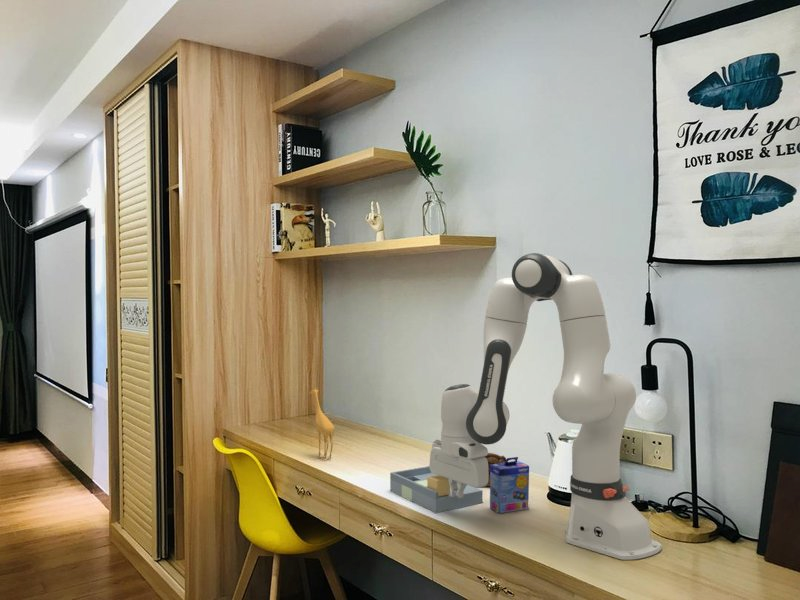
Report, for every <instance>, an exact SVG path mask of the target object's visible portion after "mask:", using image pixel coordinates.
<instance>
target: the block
mask: <svg viewBox="0 0 800 600" xmlns="http://www.w3.org/2000/svg"><path fill="white" fill-rule="evenodd" d="M427 487H428V488H430V489H432V490H435V491H437V492H438V497H439V496H444V495H449V494H450V485H449V482H448V478H446V477H443V476H440V475H436V476H430V477H427Z"/></svg>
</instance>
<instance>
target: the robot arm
mask: <svg viewBox="0 0 800 600" xmlns="http://www.w3.org/2000/svg"><path fill="white" fill-rule="evenodd" d="M488 298H489V299H488V301H487V307H486V309H485V310H486V311H485V316H484V323H483V365H482V366H483V367H482V373H481V378H480V379H481V380H480V384H479V385H480V386H479V388H478V389H479V390H477V389H475V388H474V387H473V386H472V385H470V384H467V383H464V384H463V383H460V384H456V385H451V386H449V387H447V388H446V389H445V390H444V391H443V393H442V396H441V404H440V405H441V406H440V418H441V425H442V426H441V431H440V439H435V440H434V441H433V442H432V445H431V451H430V454H429V465H428V466H429V468H430V471H431V472H432V473H434V474H437V475H440V476H443V477H446V478H448V482H449V485H450V487H451V489H452V496H455V497H458V498H462V497H463V496H464V490H465V488H466V486H467V485H469V486H472V487H475V488H477V489H480V488H483V487H487V486H486V485H487V483H488V478H489V472H488V461H487V459H486V458H485V457H484V456H487V455H488V453H489V450H488V447H486V446H485V445H488V446H489V445H494V444H496V443H498V442H499V441H501V440H502V439H503V437H504V436H505V434H506V430H507V426H508V422H509V420H510V410H509V408H508V406H507V404H506V403H505V402H504V398H505V397H504V396H505V392H506V391H505V390H506V386H507V379H508V376H509V375H508V374H509V370H510V368H511V365H512V363H513V361H514V359H515V358H516V355H517V353H518V352H519V351H520V348H521V347H522V344H523V341H524V339H525V335H526V331H527V327H528V320H529V313H530V310H531V309H530V308H531V306H532V305H533V303H535V302H542V301H543V302H545V301H551V300H552V301H553V302H554V304H555V305H556V309H557V311H558V312H557V313H558V319H559V326H560V331H561V333H560V334H561V339H562V340H561V342H562V348H563V364H562V370H561V375H560V380H559V383H558V385H557V386H556V388H555V389H554V391H553V394H552V407H553V409H554V412H555V414H556V415H557V416H558V418H560V419H561V420H563V421H564V422H566V423H571V424H578V425H579V424H580V425H581V427H580V430H579V432H578V434H577V435H576V437H575V439H574V440H573V442H572V446H571V469H572V470H571V471H572V474H571V475H570V481H569V487H570V488H569V489H570V491H571V499H570V507H569V508H570V509H569V514H568V515H569V516H568V522H567V526H566V530H565V535H566V537H565V542H566V543H568V544H570V545H574V546H577V547H580V548H583V549H586V550H590V551H593V552H596V553H600V554H602V555H606V556H608V557H611V558H612V557H613V558H615V559H618V560H622V561H623V560H624V561H626V560H627V561H628V560H629V561H630V560H639V559H644V558H648V557H651V556H654V555H655V554H658V553H659V552H660V551H662V548H663V547H662V543H661V542H659V541H657V540H655V539H653V538H652V537H651V529H650V524H649V520H647V518H646V517H645V516H644V515H643V514H642V513H641V512H640V511H639V509H637V507H635V505H633V503H632V502H631V501H630V500H629V499H628V497H626V496H627V493H626V492H627V491H630V489H629V488H630V485H625V486H624V484H623V481H622V478H620V466H621V465H620V460H621V459H620V458H621V457H620V456H621V455H620V453H621V452H620V451H621V443H622V438H623V433H624V430H625V426H626V423H627V419H628V416H629V413H630V412H631V410H632V409H633V407H634V405H635V403H636V400H637V392H636V391H637V390H636V388H635V386H634V383H633V382H632V381H631V380H630V379H629V378H627V377H626V376H625V375H621V374H616V373H610V372H605V373H604V369H605V361H606V357H607V355H608V354H609V352H610V349H611V342H610V341H611V340H610V335H609V328H608V323H607V316H606V311H605V307H604V302H603V298H602V296H601V292H600V290H599V287H598V285H597V282H596V280H595V279H594V278H593V277H592V276H589V275H586V274H582V273H581V274H573V272H572V270H571V268H570V267H569V265H568V264H567V263H565V262H564V261H562V260H561V259H558V258H555V256H551V255H548V254H542V253H539V252H537V253H536V252H533V253H528V254H527V253H526V254H524V255H522V256H521V257H520V258H518V259H517V260H516V261H515V263H514V264H513V266H512V269H511V277H503V278H500V279H498V280H497V281H496V282H494V284H493V287H492V289H491V292H490V295H489V297H488ZM456 482H458V485H459V487H458V486H457V483H456Z"/></svg>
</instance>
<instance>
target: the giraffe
mask: <svg viewBox="0 0 800 600" xmlns="http://www.w3.org/2000/svg"><path fill="white" fill-rule="evenodd" d="M318 392H319V389H318V387H316V388H315V387H314V388H313V389H312V390H310V391H309V394H311V395H313V396H314V402H315V427H316V431H317V434H318V457H320V458H321V434H322V437H323V442H324V455H323V458H324V456H325V458H324V459H326V460H327V457H328V449H329V440H330V453H329V457H328V459H329V458H330V459H332V452H333V447H334V442H333V438H334V433H335V429H336V428H335V426H334V424H333V423H332V421H331V420H330V419H329V418H328V417H327V416H326V415H325V414H324V413H323V411H322V409H321V407H320V401H319V395H318ZM328 438H329V439H328ZM324 459H323V460H324Z"/></svg>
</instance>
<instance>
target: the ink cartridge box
mask: <svg viewBox="0 0 800 600" xmlns="http://www.w3.org/2000/svg"><path fill="white" fill-rule="evenodd" d="M518 459H519V456H515V457H506V462H505V463H498V464H492V465H490V486H489V508H490V509H492V510H493V511H495V512H496V513H498V514H503V513H511V512H518V511H524V510H525V511H526V510H528V509H529V502H530V501H529V499H530V498H529V495H530V493H529V491H530V489H529V488H530V465H528V464H526V463H525V462H521V461H518Z"/></svg>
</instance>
